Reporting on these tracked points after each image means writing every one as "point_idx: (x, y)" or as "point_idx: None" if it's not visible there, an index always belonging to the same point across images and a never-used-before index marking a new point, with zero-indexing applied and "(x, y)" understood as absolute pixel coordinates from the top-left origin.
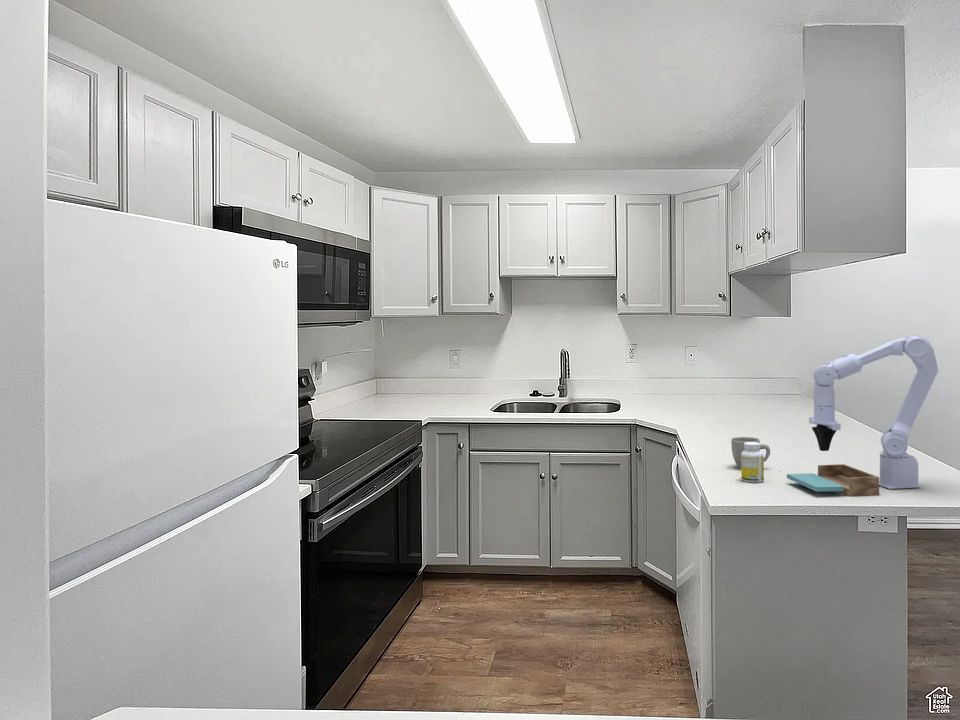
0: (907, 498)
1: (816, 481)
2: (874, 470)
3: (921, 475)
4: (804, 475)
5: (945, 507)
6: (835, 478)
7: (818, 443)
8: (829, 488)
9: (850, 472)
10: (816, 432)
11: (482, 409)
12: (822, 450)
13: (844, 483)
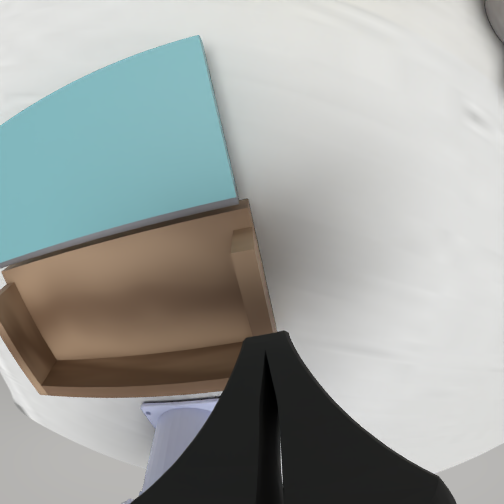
0: None
1: (34, 171)
2: (404, 419)
3: None
4: (164, 131)
5: (20, 408)
6: (173, 290)
7: (294, 367)
8: None
9: (186, 367)
10: (293, 484)
11: None
12: (243, 343)
13: (78, 293)
